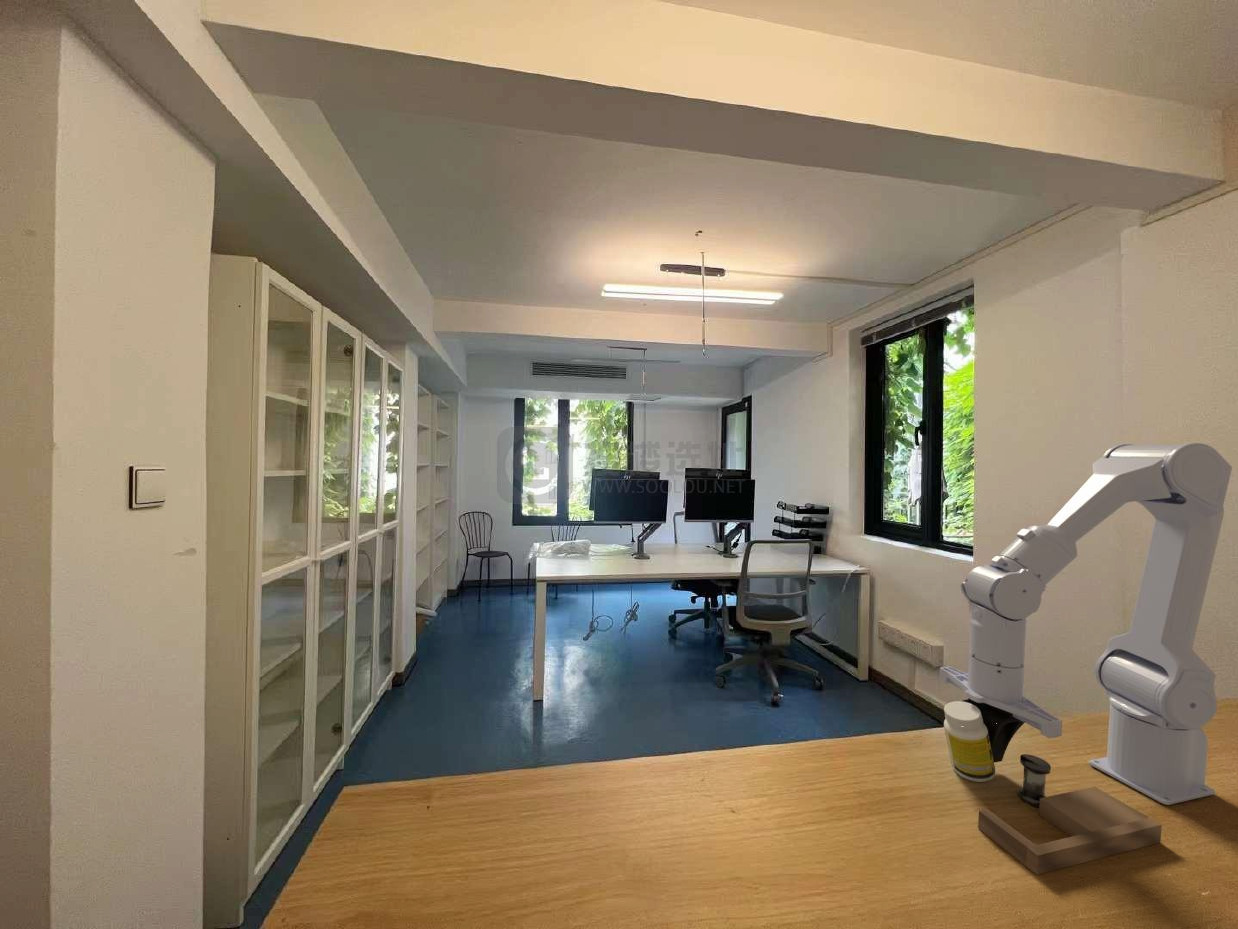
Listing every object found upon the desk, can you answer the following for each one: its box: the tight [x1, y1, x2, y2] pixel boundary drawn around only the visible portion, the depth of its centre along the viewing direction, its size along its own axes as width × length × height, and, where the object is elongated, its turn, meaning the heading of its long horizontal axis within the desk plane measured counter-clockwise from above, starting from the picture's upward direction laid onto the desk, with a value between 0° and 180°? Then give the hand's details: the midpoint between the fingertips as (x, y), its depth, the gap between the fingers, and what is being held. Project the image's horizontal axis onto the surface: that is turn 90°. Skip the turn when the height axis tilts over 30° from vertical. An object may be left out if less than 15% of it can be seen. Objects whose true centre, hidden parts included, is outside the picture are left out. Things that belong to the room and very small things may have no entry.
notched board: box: [977, 786, 1163, 876], centre depth 53 cm, size 18×6×2 cm, turn 105°
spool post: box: [1017, 753, 1052, 809], centre depth 58 cm, size 3×3×5 cm
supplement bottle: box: [943, 700, 996, 783], centre depth 62 cm, size 5×5×8 cm
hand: (991, 759), depth 64 cm, fingers closed, pressing on supplement bottle
